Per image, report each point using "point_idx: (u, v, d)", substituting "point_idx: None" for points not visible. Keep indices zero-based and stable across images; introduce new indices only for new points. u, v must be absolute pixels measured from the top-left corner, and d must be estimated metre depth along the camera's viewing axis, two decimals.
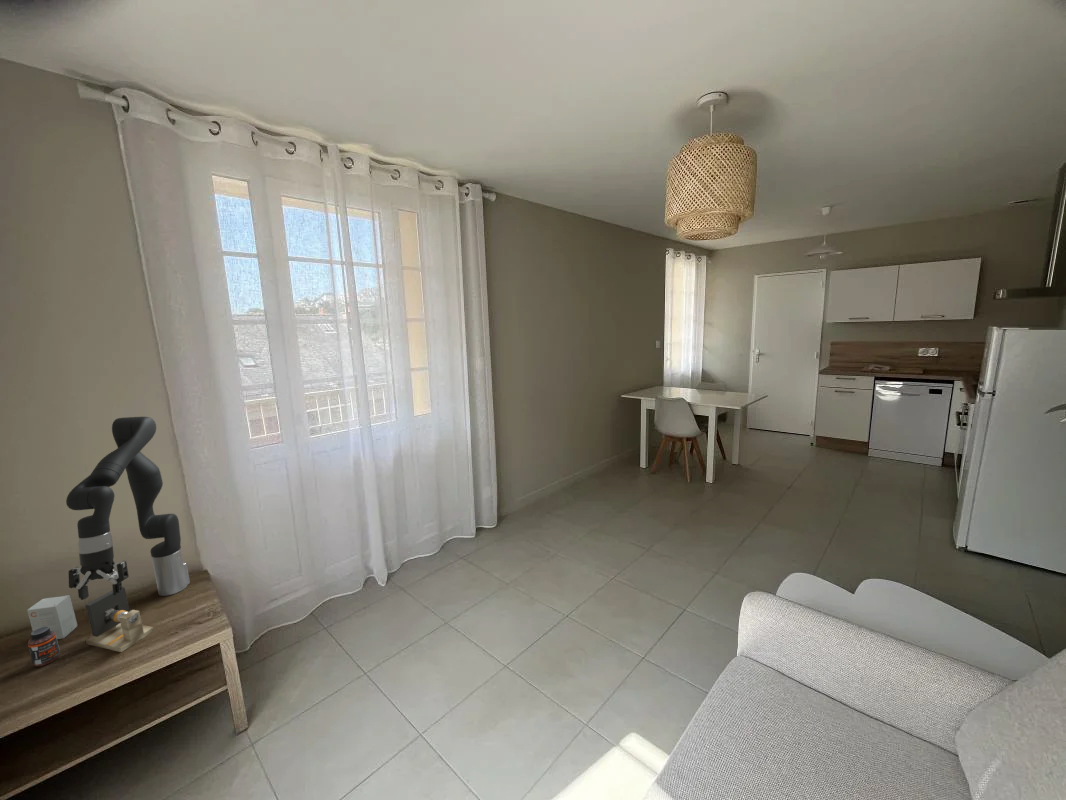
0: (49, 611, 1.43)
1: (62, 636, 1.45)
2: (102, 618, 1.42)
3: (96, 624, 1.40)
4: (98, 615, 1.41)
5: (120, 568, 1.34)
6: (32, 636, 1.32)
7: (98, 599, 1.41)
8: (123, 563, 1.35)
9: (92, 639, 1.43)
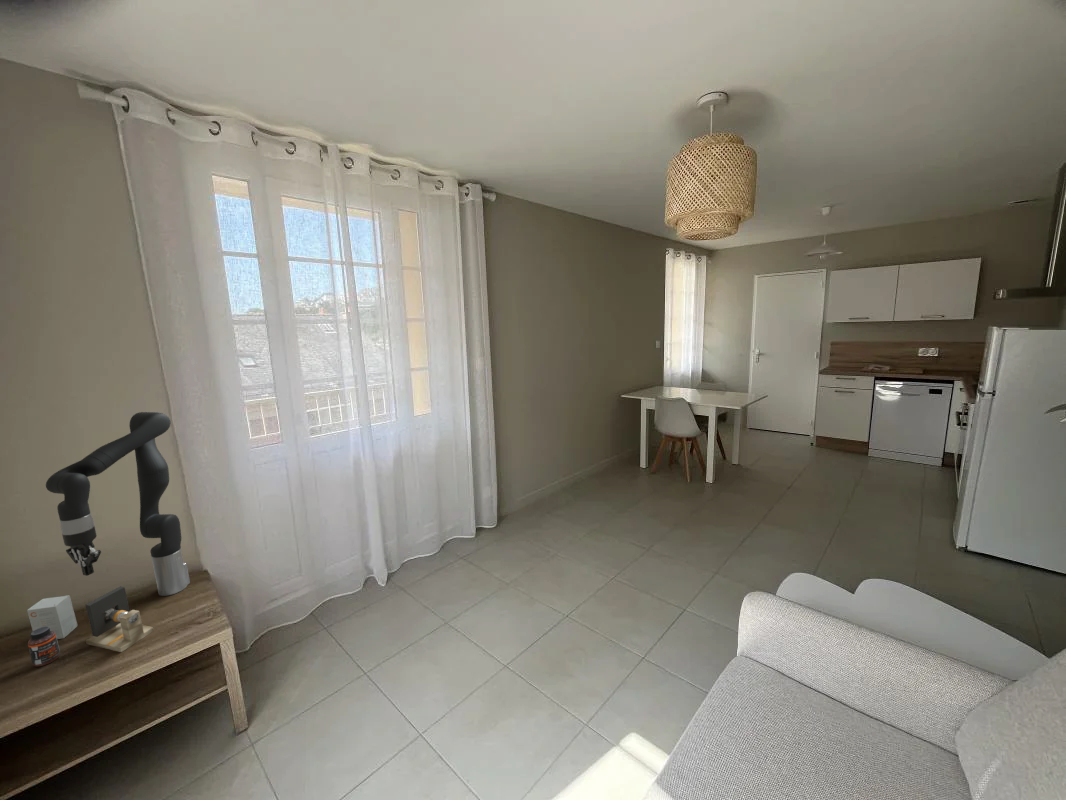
0: (49, 611, 1.43)
1: (62, 636, 1.45)
2: (102, 618, 1.42)
3: (96, 624, 1.40)
4: (98, 615, 1.41)
5: (90, 557, 1.40)
6: (32, 636, 1.32)
7: (98, 599, 1.41)
8: (96, 554, 1.40)
9: (92, 639, 1.43)
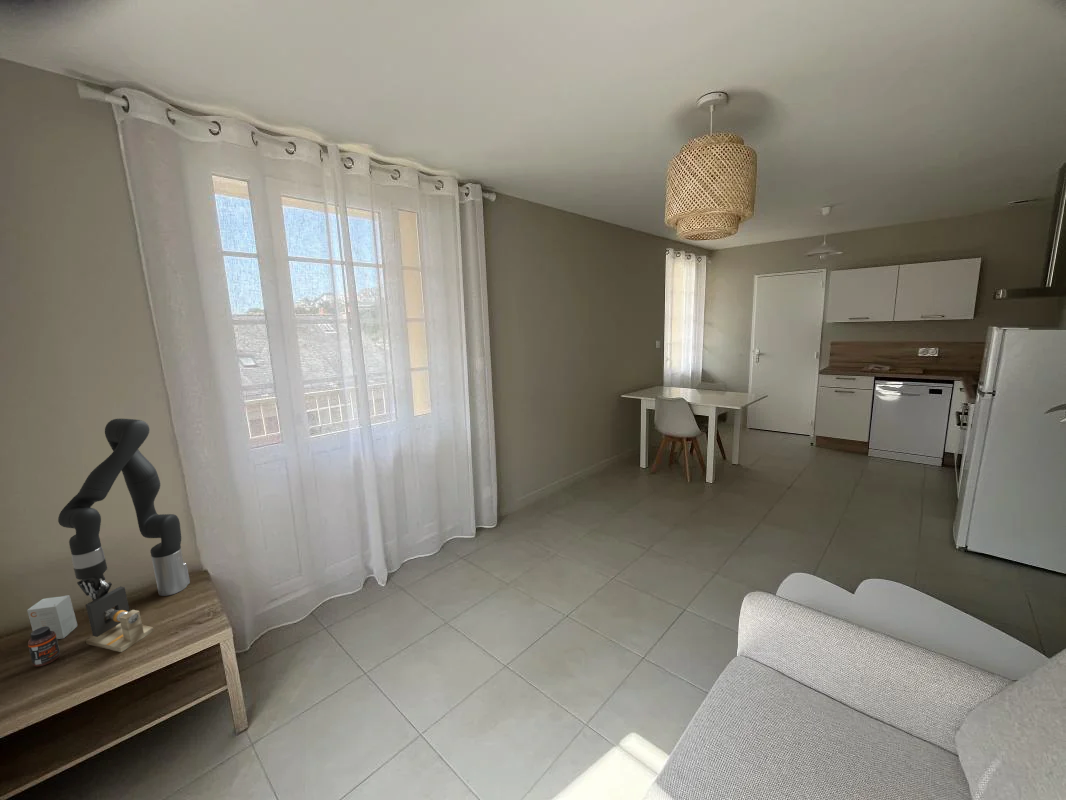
0: (49, 611, 1.43)
1: (62, 636, 1.45)
2: (102, 618, 1.42)
3: (96, 624, 1.40)
4: (98, 615, 1.41)
5: (101, 590, 1.41)
6: (32, 636, 1.32)
7: (98, 599, 1.41)
8: (107, 586, 1.42)
9: (92, 639, 1.43)
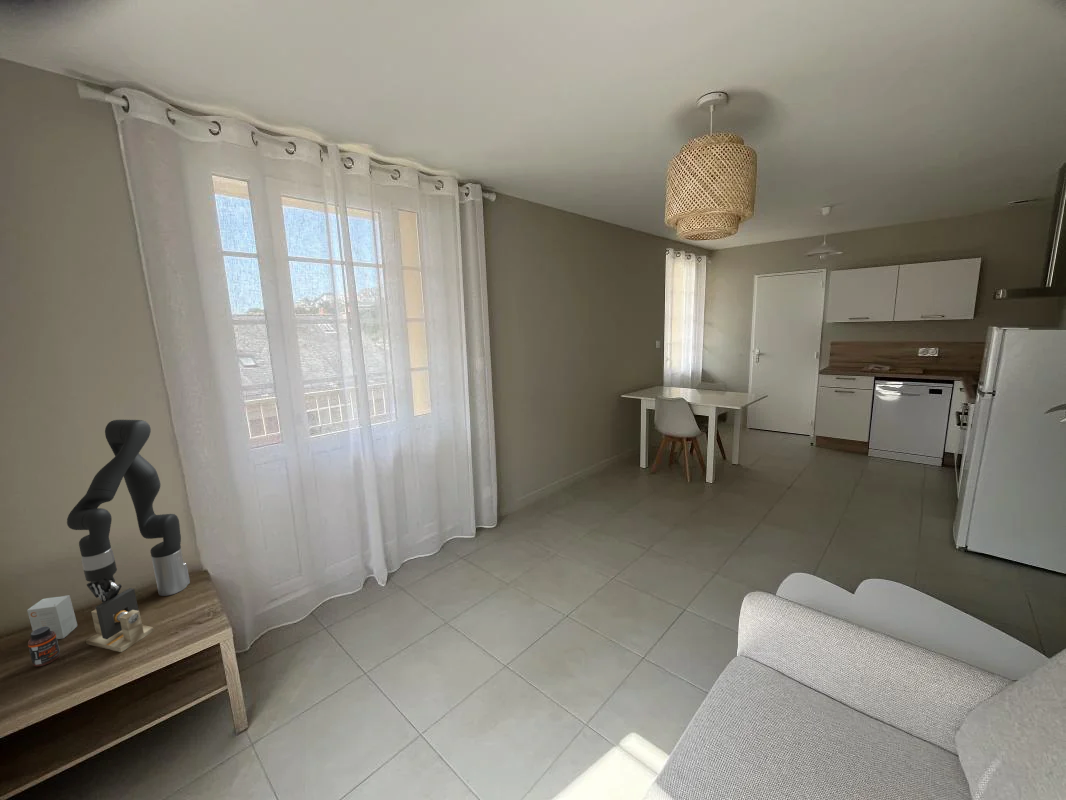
0: (49, 611, 1.43)
1: (62, 636, 1.45)
2: (112, 620, 1.41)
3: (106, 626, 1.39)
4: (108, 617, 1.40)
5: (111, 592, 1.40)
6: (32, 636, 1.32)
7: (108, 601, 1.40)
8: (117, 588, 1.41)
9: (92, 639, 1.43)
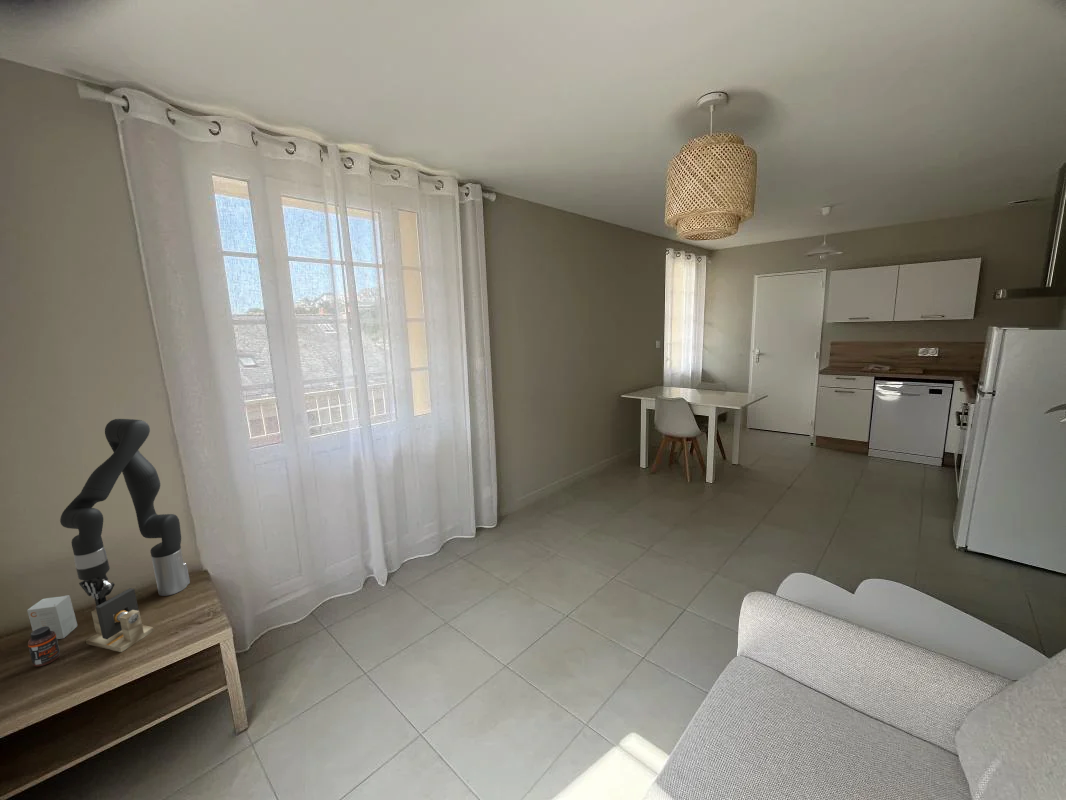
0: (49, 611, 1.43)
1: (62, 636, 1.45)
2: (112, 620, 1.41)
3: (106, 626, 1.39)
4: (108, 617, 1.40)
5: (104, 590, 1.41)
6: (32, 636, 1.32)
7: (108, 601, 1.40)
8: (110, 587, 1.42)
9: (92, 639, 1.43)
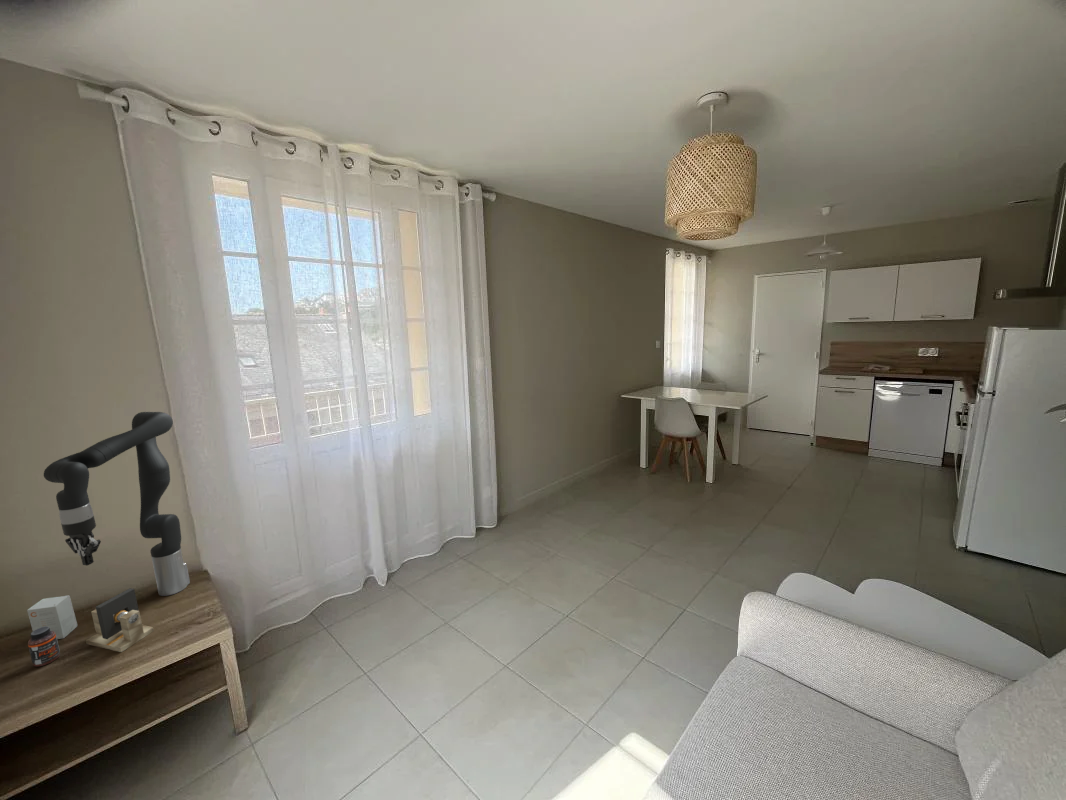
0: (49, 611, 1.43)
1: (62, 636, 1.45)
2: (112, 620, 1.41)
3: (106, 626, 1.39)
4: (108, 617, 1.40)
5: (90, 547, 1.39)
6: (32, 636, 1.32)
7: (108, 601, 1.40)
8: (96, 543, 1.39)
9: (92, 639, 1.43)
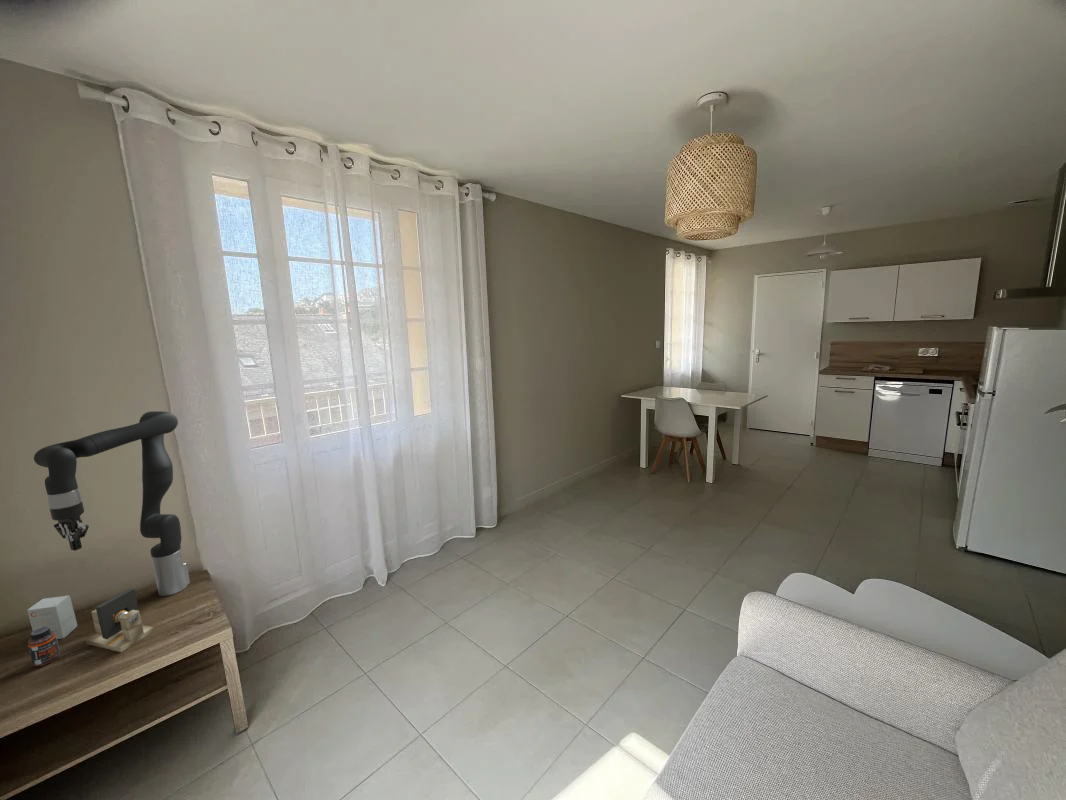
0: (49, 611, 1.43)
1: (62, 636, 1.45)
2: (112, 620, 1.41)
3: (106, 626, 1.39)
4: (108, 617, 1.40)
5: (78, 532, 1.40)
6: (32, 636, 1.32)
7: (108, 601, 1.40)
8: (84, 528, 1.41)
9: (92, 639, 1.43)
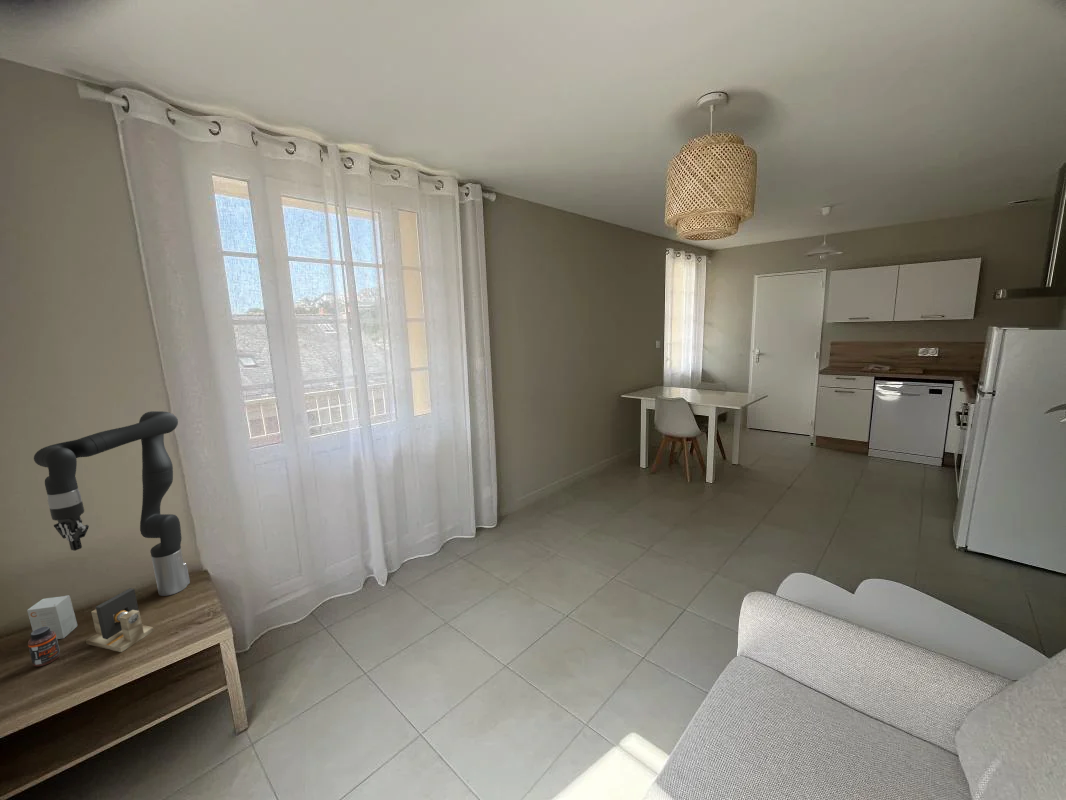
0: (49, 611, 1.43)
1: (62, 636, 1.45)
2: (112, 620, 1.41)
3: (106, 626, 1.39)
4: (108, 617, 1.40)
5: (78, 532, 1.40)
6: (32, 636, 1.32)
7: (108, 601, 1.40)
8: (84, 528, 1.41)
9: (92, 639, 1.43)
